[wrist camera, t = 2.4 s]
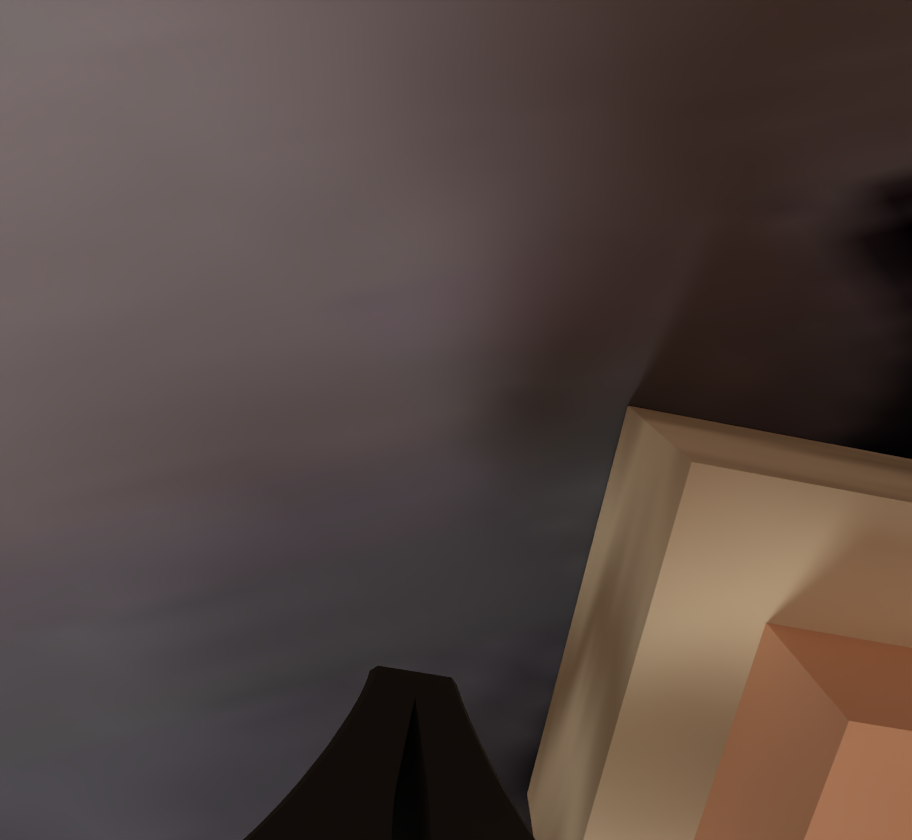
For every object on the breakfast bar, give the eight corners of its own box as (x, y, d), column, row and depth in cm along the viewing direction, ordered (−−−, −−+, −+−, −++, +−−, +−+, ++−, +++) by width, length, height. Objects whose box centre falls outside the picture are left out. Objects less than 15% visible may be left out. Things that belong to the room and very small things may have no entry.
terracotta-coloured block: (940, 900, 13) (1051, 1046, 11) (686, 862, 13) (741, 1004, 11) (1043, 670, 12) (1192, 777, 10) (765, 622, 12) (849, 720, 9)
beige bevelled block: (872, 846, 18) (991, 1014, 14) (527, 794, 17) (550, 952, 13) (1021, 479, 16) (1214, 558, 12) (627, 405, 15) (691, 461, 11)
